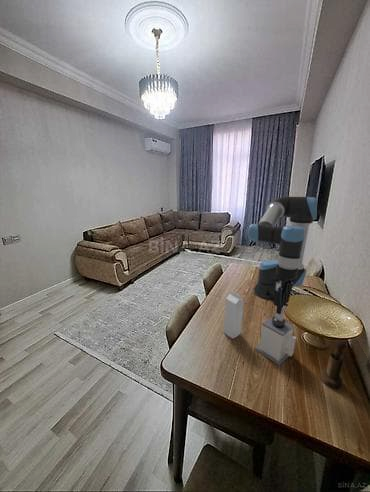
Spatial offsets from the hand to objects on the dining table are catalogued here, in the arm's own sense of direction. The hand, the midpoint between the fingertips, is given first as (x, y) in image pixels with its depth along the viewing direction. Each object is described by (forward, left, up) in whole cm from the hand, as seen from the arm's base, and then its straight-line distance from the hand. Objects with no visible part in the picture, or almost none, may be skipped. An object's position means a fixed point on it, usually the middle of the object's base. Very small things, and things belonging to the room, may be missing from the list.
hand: (278, 319), depth 87 cm
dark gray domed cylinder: (0, 0, -14) cm, 14 cm away
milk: (+5, -19, -17) cm, 26 cm away
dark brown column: (-3, +21, -17) cm, 27 cm away
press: (0, 0, -16) cm, 16 cm away
